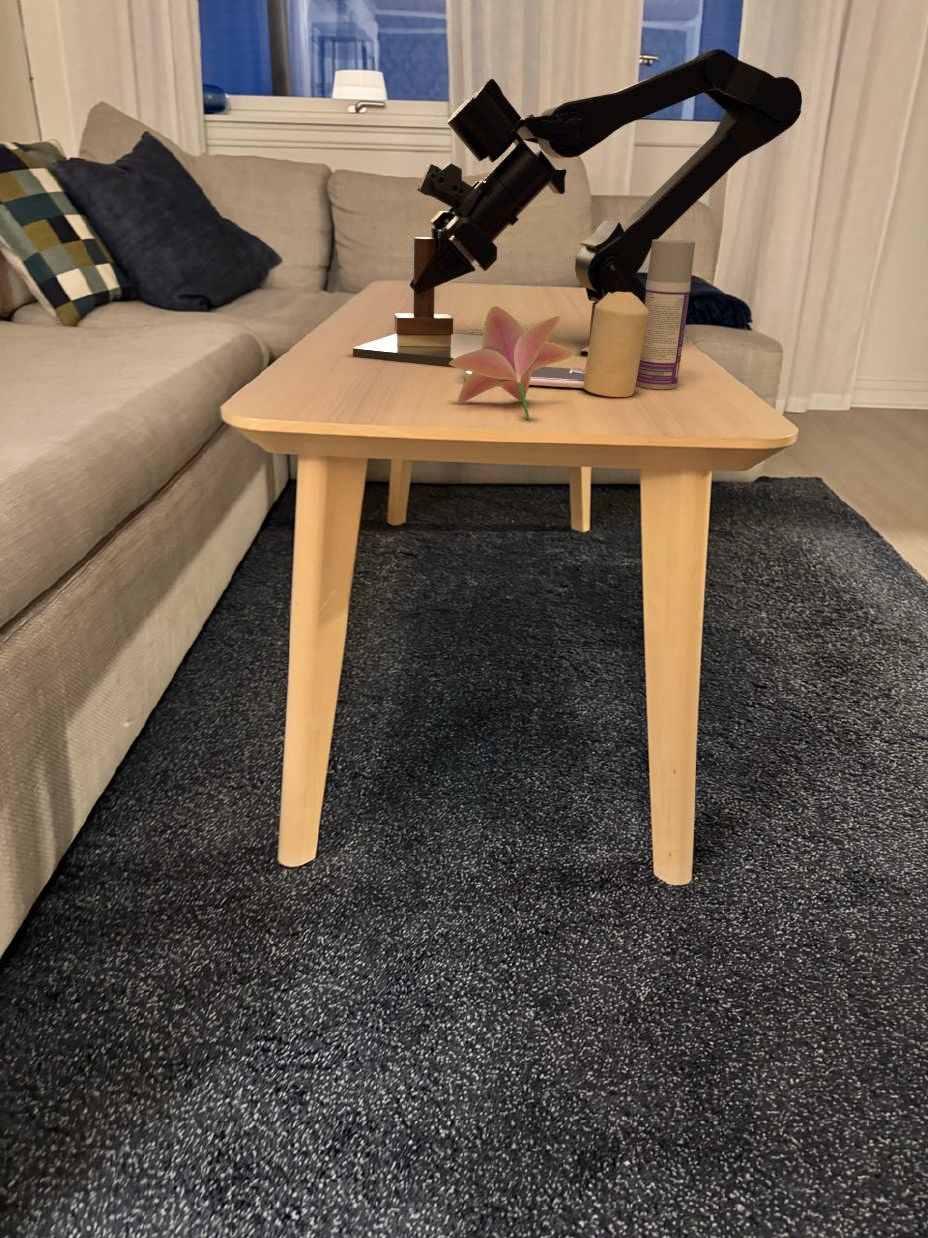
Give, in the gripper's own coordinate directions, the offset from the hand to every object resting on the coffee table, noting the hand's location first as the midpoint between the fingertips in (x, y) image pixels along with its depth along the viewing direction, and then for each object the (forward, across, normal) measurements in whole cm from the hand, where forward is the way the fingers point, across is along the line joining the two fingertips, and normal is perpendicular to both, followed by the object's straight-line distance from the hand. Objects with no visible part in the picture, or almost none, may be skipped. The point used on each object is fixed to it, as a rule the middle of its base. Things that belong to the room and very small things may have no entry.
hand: (413, 289), depth 112 cm
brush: (+4, 0, +6) cm, 7 cm away
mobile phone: (-3, +17, +14) cm, 22 cm away
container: (-12, +19, +24) cm, 33 cm away
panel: (+3, -1, +8) cm, 8 cm away
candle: (-8, +23, +19) cm, 31 cm away
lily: (+1, +31, +10) cm, 33 cm away
